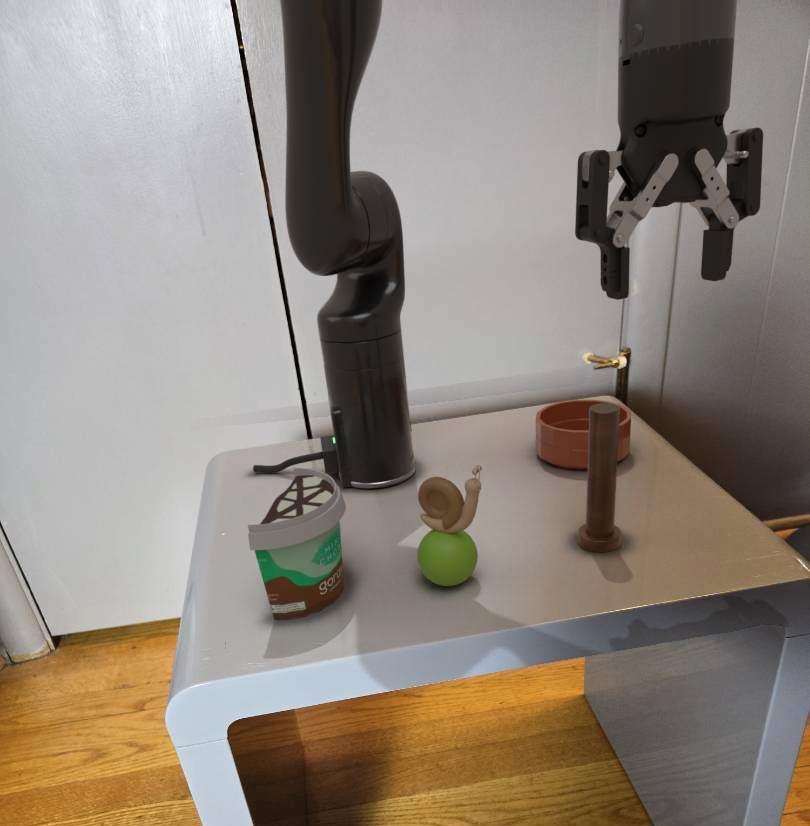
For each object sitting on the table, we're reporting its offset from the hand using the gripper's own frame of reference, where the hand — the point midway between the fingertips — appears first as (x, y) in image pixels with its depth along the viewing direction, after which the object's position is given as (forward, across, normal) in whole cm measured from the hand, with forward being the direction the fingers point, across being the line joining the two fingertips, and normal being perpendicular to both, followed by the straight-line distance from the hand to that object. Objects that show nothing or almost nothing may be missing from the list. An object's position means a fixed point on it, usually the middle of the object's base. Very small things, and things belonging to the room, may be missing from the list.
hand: (665, 288), depth 58 cm
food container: (+23, +30, -7) cm, 39 cm away
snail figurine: (+24, +19, -3) cm, 30 cm away
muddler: (+24, +4, -4) cm, 24 cm away
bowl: (+23, -5, -24) cm, 34 cm away
